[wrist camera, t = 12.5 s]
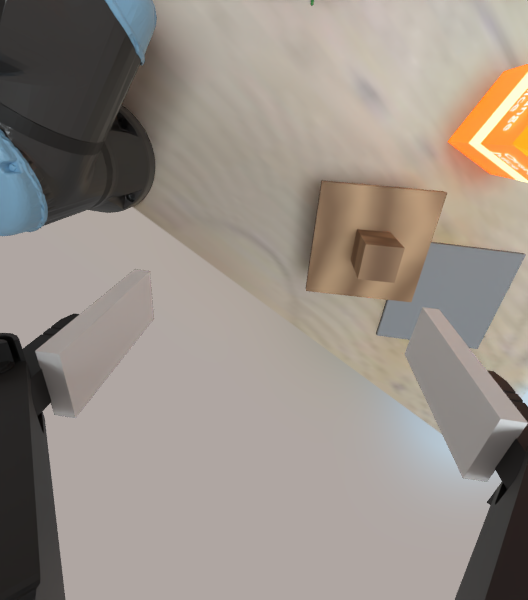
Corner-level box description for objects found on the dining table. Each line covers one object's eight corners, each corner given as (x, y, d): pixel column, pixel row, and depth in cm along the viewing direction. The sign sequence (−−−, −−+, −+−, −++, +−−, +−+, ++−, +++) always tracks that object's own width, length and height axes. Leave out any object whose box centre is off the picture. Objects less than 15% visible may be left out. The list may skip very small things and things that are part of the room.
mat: (376, 333, 56) (377, 335, 55) (406, 238, 48) (407, 240, 47) (475, 346, 55) (477, 348, 54) (523, 253, 47) (525, 254, 46)
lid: (305, 287, 44) (306, 312, 38) (321, 180, 38) (325, 190, 31) (408, 298, 43) (426, 326, 37) (443, 191, 37) (472, 203, 30)
